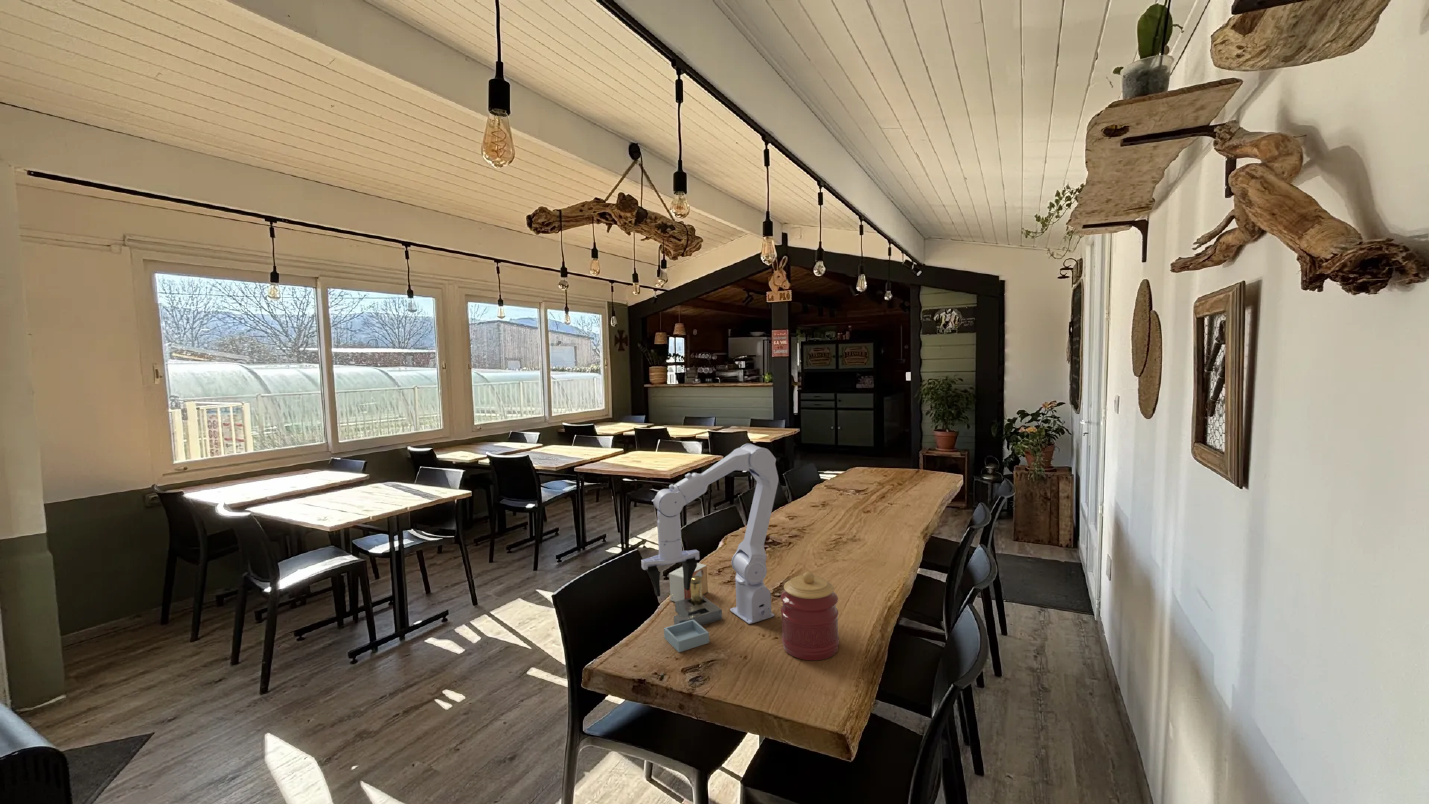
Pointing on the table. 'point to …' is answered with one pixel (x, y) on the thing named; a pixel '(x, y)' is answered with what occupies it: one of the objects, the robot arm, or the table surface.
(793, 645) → the canister
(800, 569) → the table surface
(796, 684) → the table surface
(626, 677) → the table surface
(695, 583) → the gold metallic cylinder
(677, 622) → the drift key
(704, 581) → the small box
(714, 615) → the socket block
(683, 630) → the tray
